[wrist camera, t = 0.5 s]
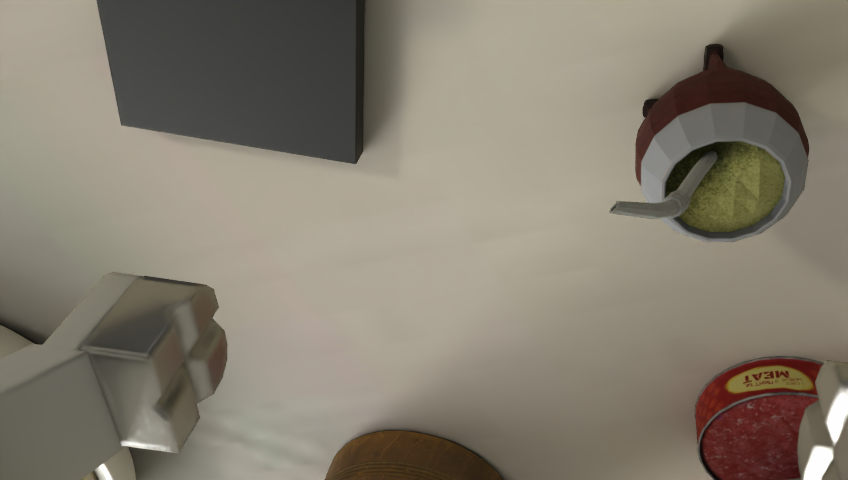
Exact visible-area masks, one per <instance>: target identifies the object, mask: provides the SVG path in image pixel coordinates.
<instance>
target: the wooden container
mask: <svg viewBox="0 0 848 480" xmlns="http://www.w3.org/2000/svg"><path fill="white" fill-rule="evenodd" d="M325 480H503V479H502V478H501V476H500V475H499V474H498V473H497V472H496V471H495V470H494V469H493V468H492V467H491V466H490V465H489V464H488V463H487V462H485V461H484V460H483V459H481V458H480V457H479V456H477V455H475V454H474V453H472V452H470V451H469V450H467V449H465V448H463V447H461V446H459V445H457V444H455V443H453V442H450V441H448V440H445V439H442V438H439V437H435V436H431V435H427V434H422V433H416V432H408V431H380V432H375V433H370V434H367V435H364V436H361V437H359V438H356V439H354V440H352V441H351V442H349V443H347V444H346V445H345V446H343V447H342V448H341V449H340V450H339V452H338V453H337V454H336V456H335V457H334V459H333V461H332V463H331V466H330V468H329V470H328V473H327V475H326V478H325Z"/></svg>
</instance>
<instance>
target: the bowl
mask: <svg viewBox="0 0 848 480" xmlns="http://www.w3.org/2000/svg"><path fill="white" fill-rule="evenodd" d="M31 344H34V343H32V342H31V341H29V340H27V339H26V338H24V337H22V336H21V335H19V334H17V333H15V332H13V331H11V330H10V329H8V328H6V327H4V326H2V325H0V359H1V358H3V357H5V356H7V355H10V354H12V353H14V352H16V351H18V350H20V349H22V348H24V347H27V346H29V345H31ZM122 447H123V449H122V450H121V451H120V452H118V453H117V454H115V455H114V456H113V457H111V458H110V459H109V460H107V461H106V462H105V463H103V464H102V465H100V466H99V467H98V468H96V469H95V470H94V471H92V472H91V473H90V474H88V475H87V476H85V477H84V478H83V479H81V480H136V476H135V469H134V464H133V460H132V456H131V453H130V450H129V448H128V446H122Z"/></svg>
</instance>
